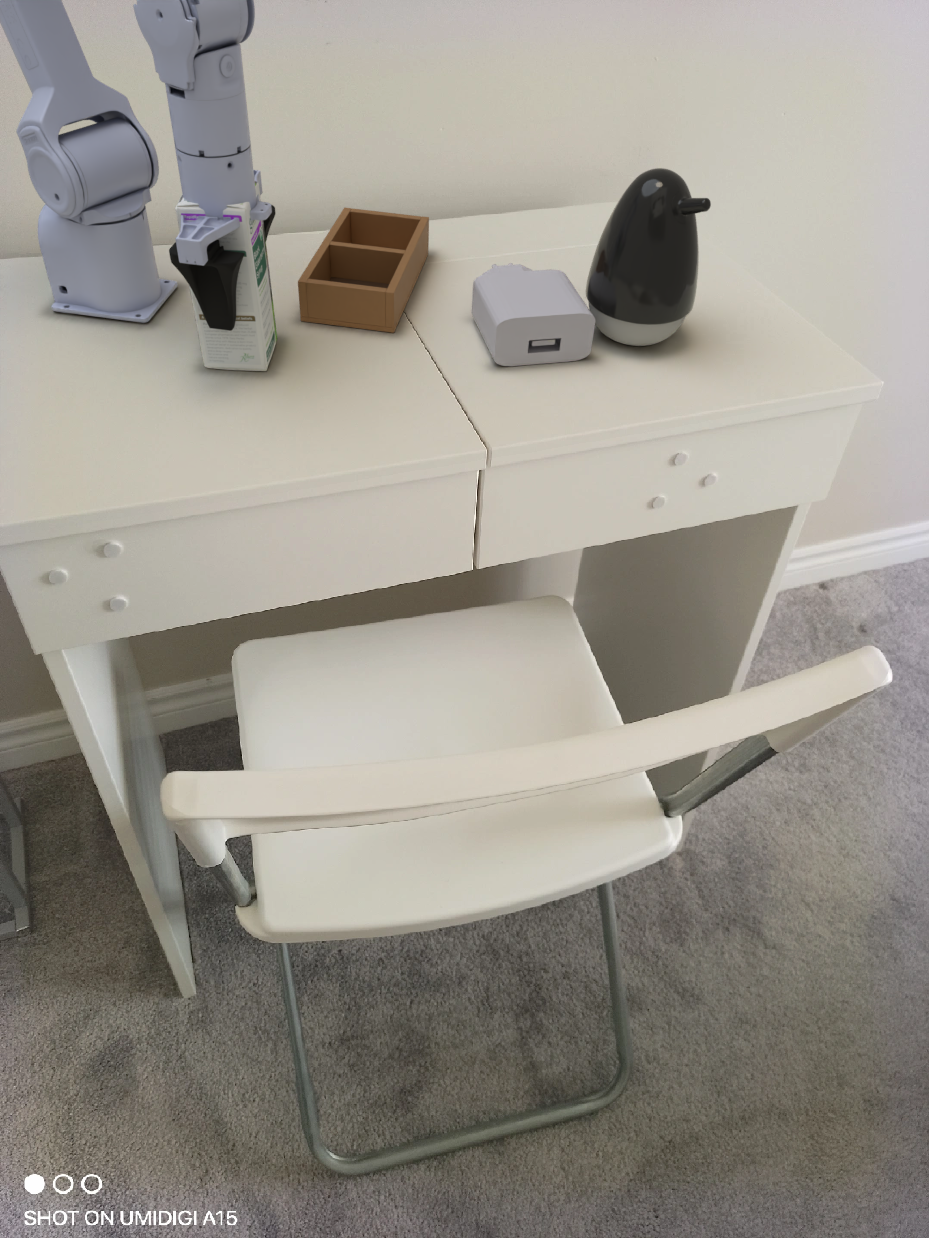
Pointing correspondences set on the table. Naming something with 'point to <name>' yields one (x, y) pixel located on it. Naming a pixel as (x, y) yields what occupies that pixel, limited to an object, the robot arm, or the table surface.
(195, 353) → the table surface
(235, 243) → the syrup box
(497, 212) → the table surface
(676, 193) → the pump dispenser
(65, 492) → the table surface
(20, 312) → the table surface
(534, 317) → the charger
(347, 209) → the divided box
